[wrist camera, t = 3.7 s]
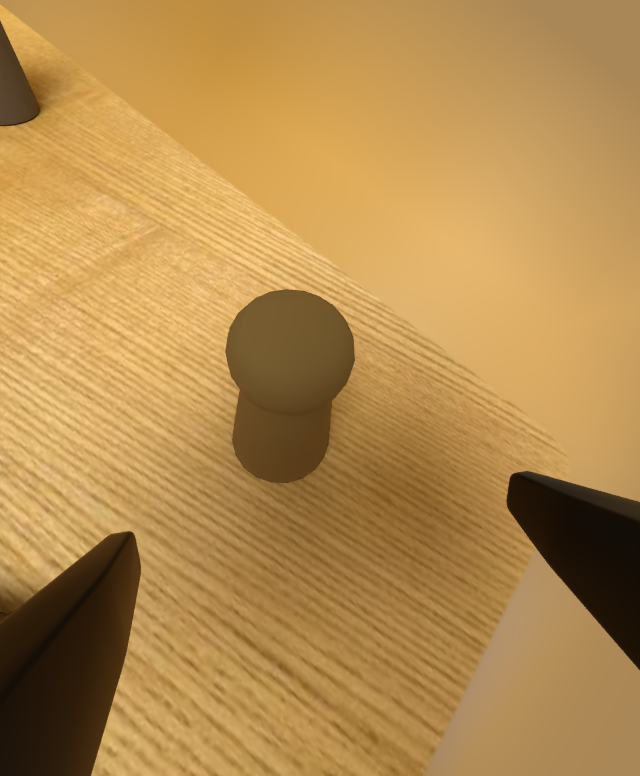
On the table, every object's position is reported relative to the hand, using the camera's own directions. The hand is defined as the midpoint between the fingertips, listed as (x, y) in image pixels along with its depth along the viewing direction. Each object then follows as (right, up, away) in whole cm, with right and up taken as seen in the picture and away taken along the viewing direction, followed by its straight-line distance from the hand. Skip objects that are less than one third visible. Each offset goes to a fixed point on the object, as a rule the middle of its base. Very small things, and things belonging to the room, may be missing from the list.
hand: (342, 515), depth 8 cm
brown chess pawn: (-3, 0, +15) cm, 15 cm away
